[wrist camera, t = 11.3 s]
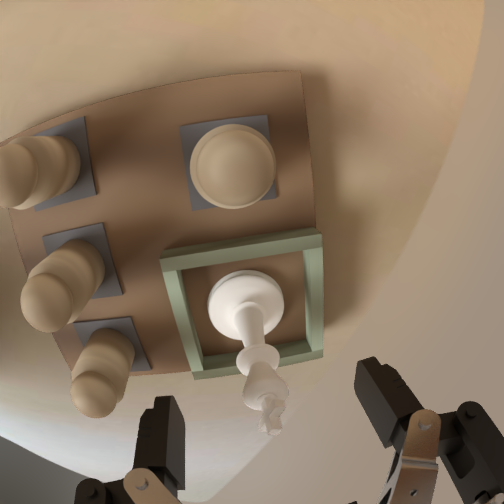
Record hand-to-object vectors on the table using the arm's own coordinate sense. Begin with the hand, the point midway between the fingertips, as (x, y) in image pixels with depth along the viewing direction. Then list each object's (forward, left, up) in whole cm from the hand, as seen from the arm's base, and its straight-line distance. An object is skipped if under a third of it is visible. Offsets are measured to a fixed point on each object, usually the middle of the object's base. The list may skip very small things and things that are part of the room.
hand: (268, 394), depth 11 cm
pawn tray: (-4, -5, -10) cm, 12 cm away
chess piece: (0, 0, -8) cm, 8 cm away
